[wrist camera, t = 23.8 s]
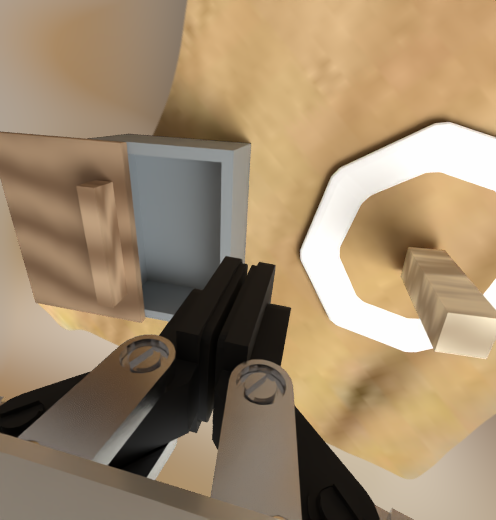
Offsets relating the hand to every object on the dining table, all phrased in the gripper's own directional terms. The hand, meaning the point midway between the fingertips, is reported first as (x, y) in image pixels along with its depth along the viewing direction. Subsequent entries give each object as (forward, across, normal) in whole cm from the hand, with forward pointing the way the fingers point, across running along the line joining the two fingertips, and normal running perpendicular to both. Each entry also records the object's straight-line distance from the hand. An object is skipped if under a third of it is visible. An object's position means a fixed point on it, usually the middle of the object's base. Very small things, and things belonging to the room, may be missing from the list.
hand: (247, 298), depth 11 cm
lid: (+22, +25, +11) cm, 35 cm away
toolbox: (+30, +18, +10) cm, 36 cm away
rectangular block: (+29, -16, +10) cm, 35 cm away
